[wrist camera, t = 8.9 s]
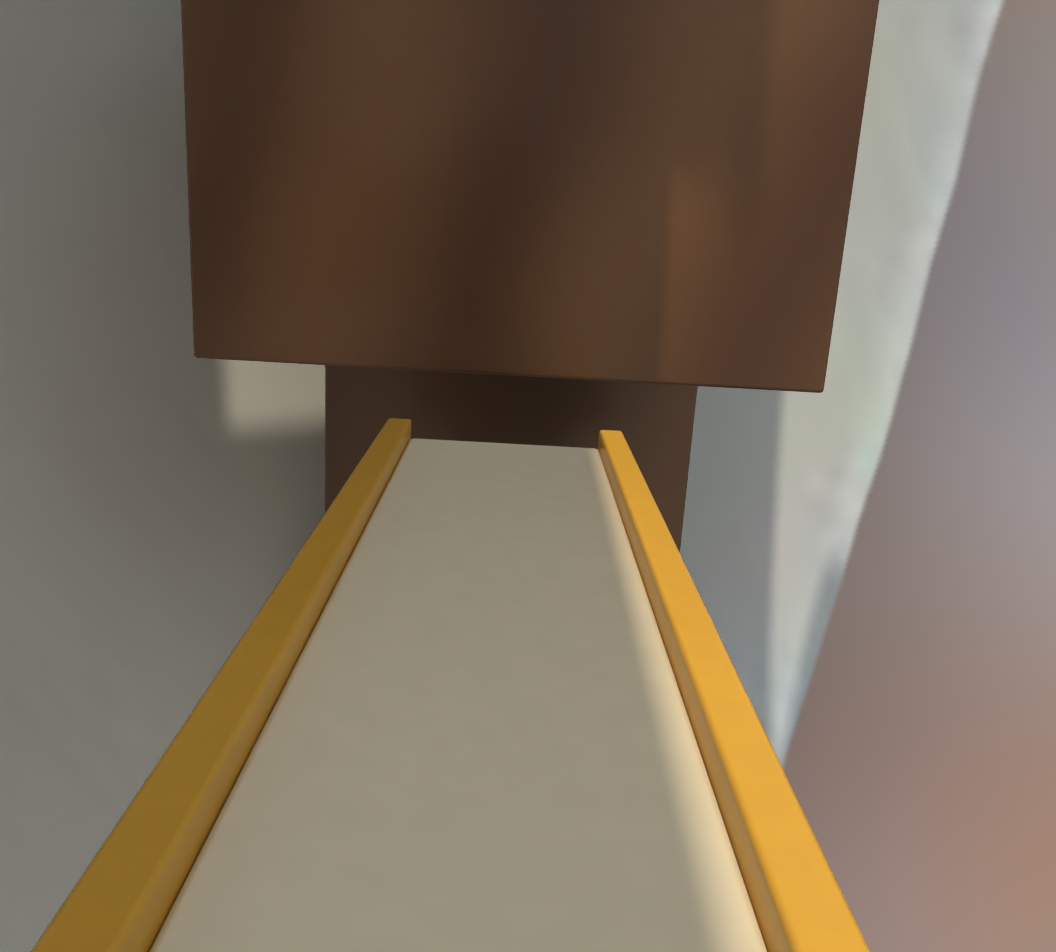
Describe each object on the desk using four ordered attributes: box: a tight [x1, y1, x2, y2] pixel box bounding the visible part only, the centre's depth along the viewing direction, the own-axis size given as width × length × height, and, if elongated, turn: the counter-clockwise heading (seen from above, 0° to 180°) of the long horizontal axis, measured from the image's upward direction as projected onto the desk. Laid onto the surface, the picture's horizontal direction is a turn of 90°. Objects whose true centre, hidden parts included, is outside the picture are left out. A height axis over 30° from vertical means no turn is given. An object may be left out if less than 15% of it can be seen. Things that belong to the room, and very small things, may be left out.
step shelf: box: [181, 0, 879, 553], centre depth 25 cm, size 13×30×14 cm, turn 177°
